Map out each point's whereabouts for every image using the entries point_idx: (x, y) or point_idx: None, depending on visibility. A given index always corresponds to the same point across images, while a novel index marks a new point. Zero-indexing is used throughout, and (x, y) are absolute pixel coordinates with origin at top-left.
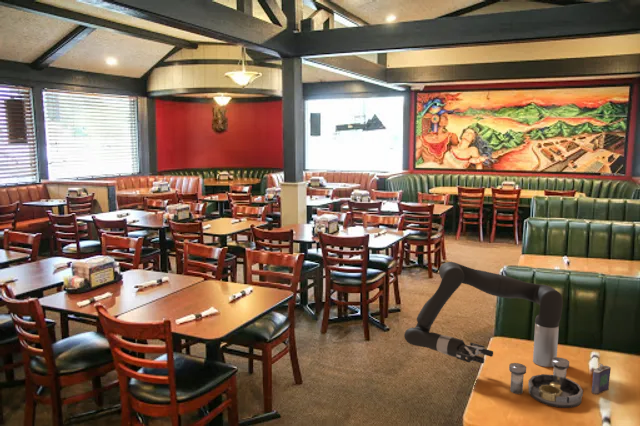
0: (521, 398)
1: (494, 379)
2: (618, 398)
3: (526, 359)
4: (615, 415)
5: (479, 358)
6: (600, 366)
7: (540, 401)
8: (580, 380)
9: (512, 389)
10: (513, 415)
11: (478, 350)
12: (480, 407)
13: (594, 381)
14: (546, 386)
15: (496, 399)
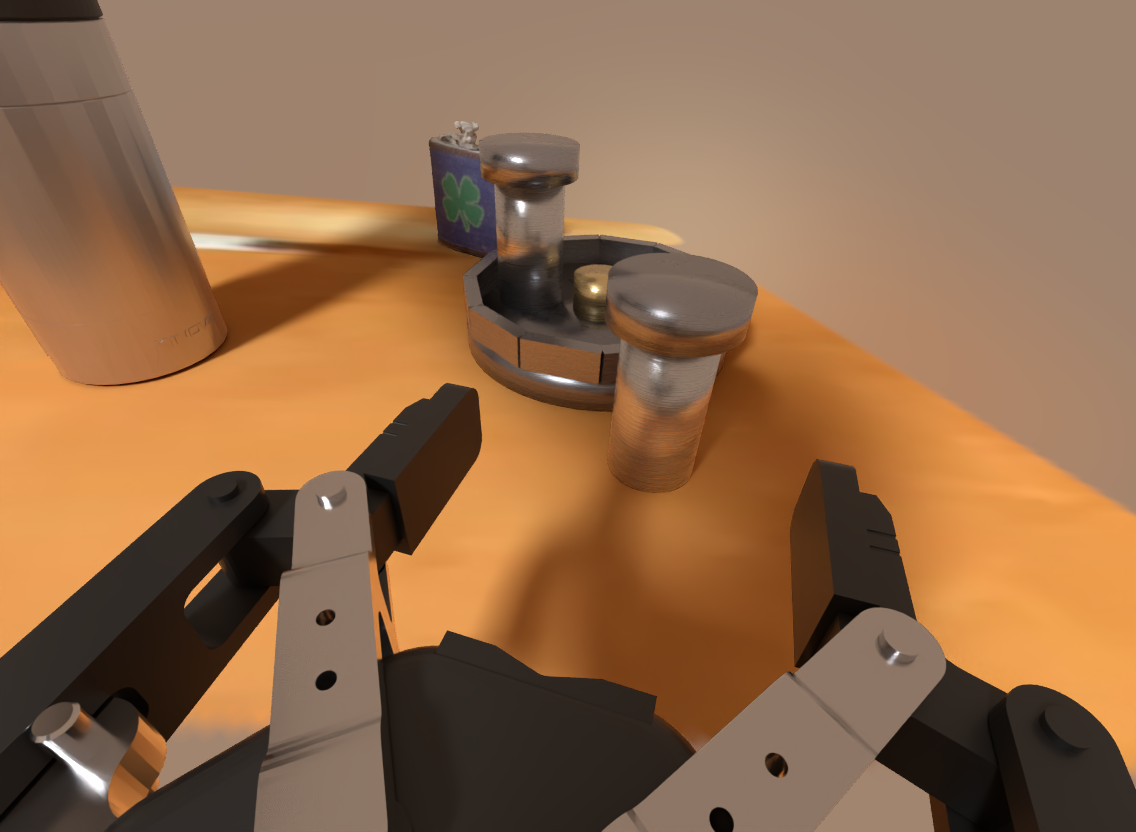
0: (736, 440)
1: (501, 606)
2: None
3: (57, 415)
4: (657, 243)
5: (869, 527)
6: (470, 133)
7: (717, 371)
8: (388, 273)
9: (691, 463)
10: (1003, 472)
11: (228, 645)
12: None
13: None
14: None
15: None
